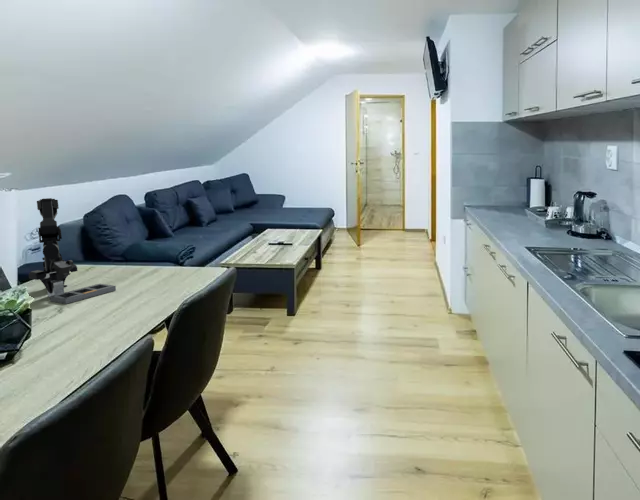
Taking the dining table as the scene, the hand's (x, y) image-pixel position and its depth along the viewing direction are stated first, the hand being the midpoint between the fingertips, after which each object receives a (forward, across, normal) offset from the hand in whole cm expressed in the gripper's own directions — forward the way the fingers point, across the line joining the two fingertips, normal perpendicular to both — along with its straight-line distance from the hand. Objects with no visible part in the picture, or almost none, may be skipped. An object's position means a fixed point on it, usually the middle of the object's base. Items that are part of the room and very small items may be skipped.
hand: (55, 292), depth 242 cm
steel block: (+2, 0, 0) cm, 2 cm away
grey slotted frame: (+2, +5, -11) cm, 12 cm away
